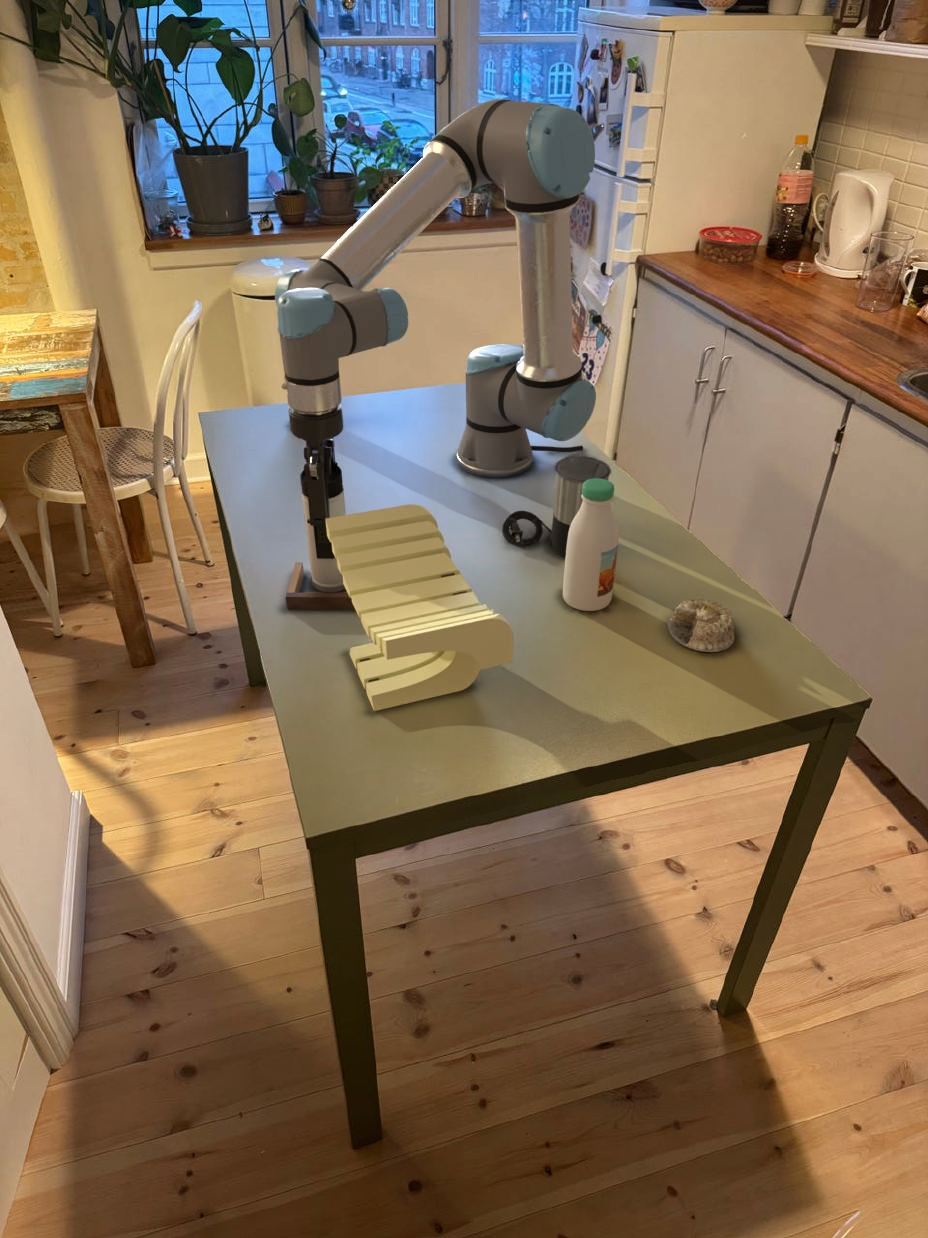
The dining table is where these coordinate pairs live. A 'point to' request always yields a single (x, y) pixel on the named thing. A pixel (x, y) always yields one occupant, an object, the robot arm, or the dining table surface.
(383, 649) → the slatted curved stool
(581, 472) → the milk frother
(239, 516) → the dining table surface
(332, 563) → the travel mug
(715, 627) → the cake
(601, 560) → the milk bottle
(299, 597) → the frame
